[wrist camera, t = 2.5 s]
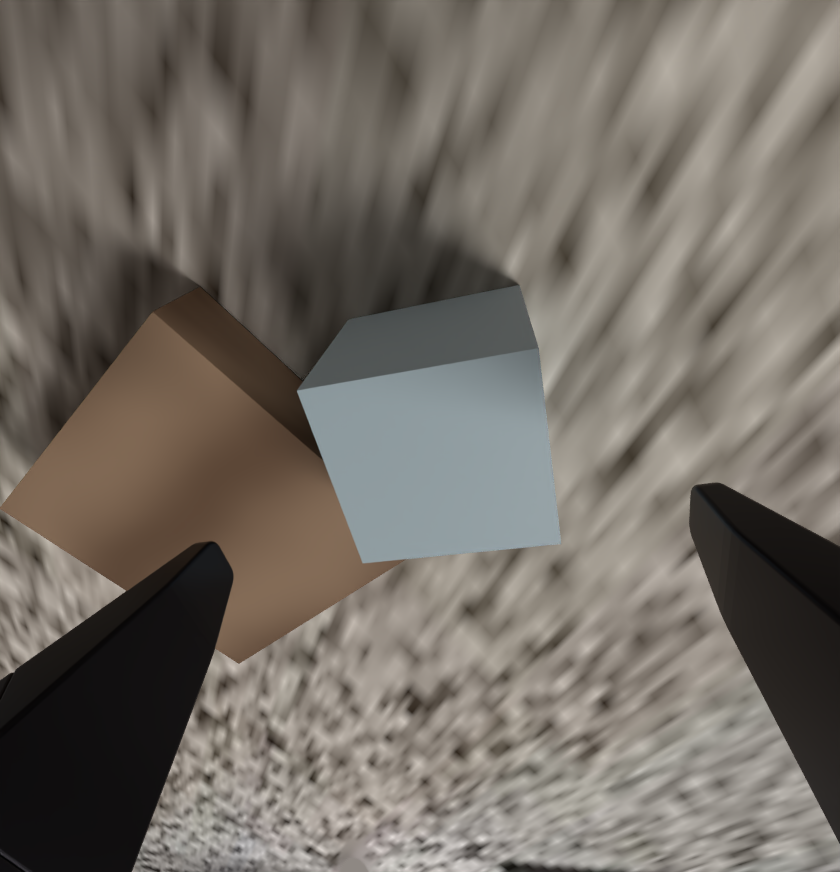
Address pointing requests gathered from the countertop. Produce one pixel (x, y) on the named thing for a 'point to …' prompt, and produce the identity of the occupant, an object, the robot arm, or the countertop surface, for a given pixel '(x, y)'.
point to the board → (199, 475)
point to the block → (437, 429)
